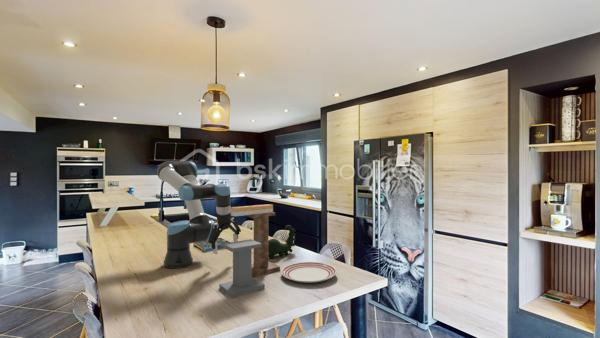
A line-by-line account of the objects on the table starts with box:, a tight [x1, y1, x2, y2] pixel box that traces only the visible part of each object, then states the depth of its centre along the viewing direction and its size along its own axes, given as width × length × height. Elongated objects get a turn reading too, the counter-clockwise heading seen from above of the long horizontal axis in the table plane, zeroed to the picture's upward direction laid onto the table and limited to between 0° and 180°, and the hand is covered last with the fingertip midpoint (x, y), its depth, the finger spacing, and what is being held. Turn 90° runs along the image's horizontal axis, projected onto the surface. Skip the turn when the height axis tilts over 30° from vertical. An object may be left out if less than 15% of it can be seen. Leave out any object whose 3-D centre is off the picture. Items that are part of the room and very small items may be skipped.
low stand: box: [219, 239, 266, 299], centre depth 136 cm, size 16×12×20 cm
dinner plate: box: [280, 261, 338, 284], centre depth 153 cm, size 27×27×3 cm
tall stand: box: [245, 211, 281, 278], centre depth 161 cm, size 16×12×30 cm
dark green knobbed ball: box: [268, 224, 297, 259], centre depth 187 cm, size 9×19×25 cm
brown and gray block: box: [231, 204, 274, 217], centre depth 158 cm, size 22×4×4 cm, turn 128°
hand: (225, 249), depth 170 cm, fingers open, 13 cm apart
